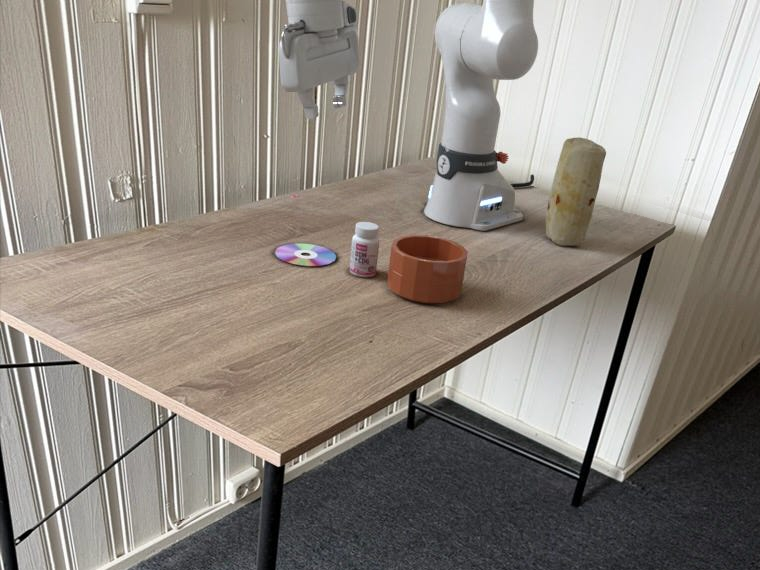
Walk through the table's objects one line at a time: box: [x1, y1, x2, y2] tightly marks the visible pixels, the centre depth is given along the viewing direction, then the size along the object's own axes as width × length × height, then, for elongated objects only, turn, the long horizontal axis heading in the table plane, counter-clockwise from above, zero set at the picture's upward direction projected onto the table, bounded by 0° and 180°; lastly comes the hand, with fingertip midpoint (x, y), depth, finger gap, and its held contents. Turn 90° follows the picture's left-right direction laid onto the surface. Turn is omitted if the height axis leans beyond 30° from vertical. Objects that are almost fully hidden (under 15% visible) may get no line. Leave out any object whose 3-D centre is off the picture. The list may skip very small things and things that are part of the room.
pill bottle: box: [349, 221, 380, 278], centre depth 145 cm, size 5×5×8 cm
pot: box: [386, 234, 469, 304], centre depth 141 cm, size 13×13×8 cm
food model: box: [545, 137, 607, 247], centre depth 167 cm, size 10×7×20 cm
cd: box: [274, 242, 337, 267], centre depth 151 cm, size 11×11×1 cm
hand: (326, 112), depth 139 cm, fingers open, 8 cm apart
